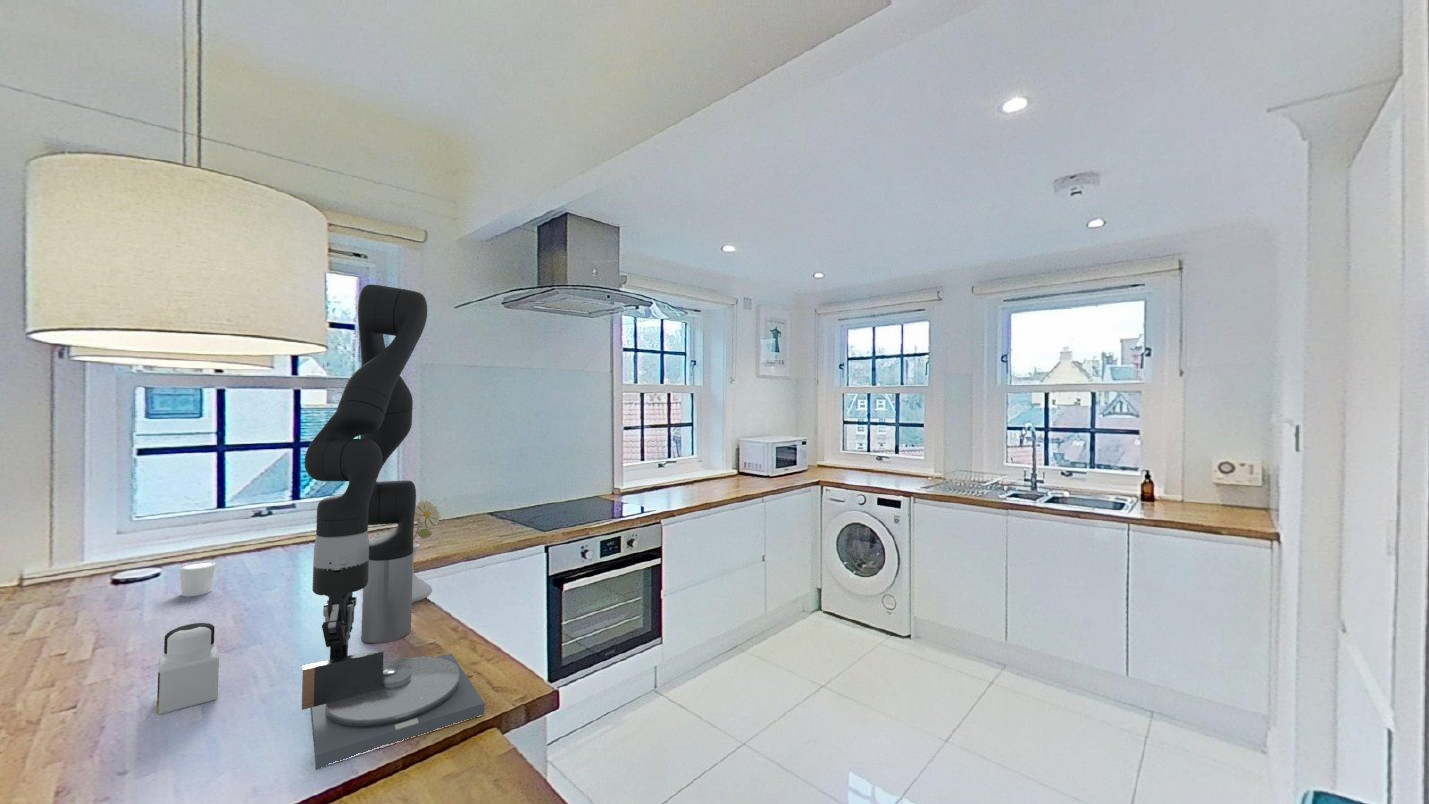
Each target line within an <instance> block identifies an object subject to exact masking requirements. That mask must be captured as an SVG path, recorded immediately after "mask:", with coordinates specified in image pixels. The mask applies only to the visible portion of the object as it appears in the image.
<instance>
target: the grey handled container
mask: <svg viewBox="0 0 1429 804" xmlns="http://www.w3.org/2000/svg"><path fill="white" fill-rule="evenodd" d="M163 644H164V646H163V647H164V648H163V655H161V656H160V657H159V658H158V659H159V660H158V668H157V669H158V670H157V671H158V672H157V701H156V714H157V715H159V716H160V715H163V714H168V713H170V712H174V711H179V710H181V709H186V708H190V707H194V706H198V705H200V704H206V703H209V702H213V701H215V700H217V699H218V698H219V677H220V676H219V673H220V671H219V670H220V669H219V667H220V656H219V649H218V644H215V625H213V624H212V623H207V622H194V623H189V624H185V625H181V626H179V627H176V628H174V629H172V630H169V631H168V632H167V633H166V634H165V635H164V643H163Z"/></svg>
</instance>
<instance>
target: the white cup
mask: <svg viewBox="0 0 1429 804" xmlns="http://www.w3.org/2000/svg"><path fill="white" fill-rule="evenodd" d="M216 566H217V563H216V562H212V561H208V562H205V561H204V562H197V563H190V564H187V565H183V566H180V568H179V580H180V589H181V590H180V591H181V596H182V597H197V596H202V595H205V594H208V593H211V592H212V591H213V586H214V580H215V572H216Z"/></svg>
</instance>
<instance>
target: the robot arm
mask: <svg viewBox="0 0 1429 804" xmlns="http://www.w3.org/2000/svg"><path fill="white" fill-rule="evenodd" d="M357 301H358V302H357V321H358V323H357V324H358V337H359V347H360V363H361V366H360V367H359V368H358V369H357V370H356V371H355V372H354V373H353V374H352V375H351V377H350V378H349V379H348V381H347V382H346V384H345V386H344V389H343V391H342V394H341V397H340V400H339V403H338V405H337V408H336V411H335V412H334V413H333V415H332V416H331V417H330V418H329V419H328V421H327V422H326V423H325V424H324V425H323V427H322V428H321V429H320V431H319V432H318V433H317V434H316V436H315V437H314V438H313V440H312V441H311V443H310V444H309V446H308V448H307V450H306V452H305V455H304V468H305V471H306V473H307V475H308V476H309V477H310V478H312V479H313V480H314V481H319V482H348V486H347V488H346V489H345V492H343V493H342V494H337V495H332V496H331V495H330V496H328V497H325V498H323V499H321V500H320V501H319V502H318V504H317V508H316V509H317V510H316V535H315V542H314V546H313V560H312V561H313V564H312V565H313V566H312V592H313V593H314V594H315V595H317V596H326V597H327V598H328V599H327V602H326V604H324V605H323V611H322V612H323V613H322V616H323V617H324V621H323V623H322V624H321V629H322V634H323V638H324V643H325V646H326V648H329V660H331V659H336V658H340V657H345V656H349V655H348V654H349V648H348V647H349V641H350V638H351V632H352V631H353V628H354V627H353V624H354V621H355V609H356V608H355V607H356V606H357V599H358V598H357V596H353V594H354V593H355V592H358V591H361V590H362V603H361V604H362V605H361V606H362V607H361V608H362V609H361V610H362V611H361V632H360V633H361V637H360V638H361V640H362V641H363V642H365V643H367V644H381V643H388V642H393V641H396V640H400V639H402V638H404V637H406V636H407V635H409V634H410V633H411V631H412V609H413V607H412V606H413V602H412V579H413V572H414V561H413V543H414V540H413V537H414V529H415V528H414V527H415V520H414V518H415V517H414V516H415V506H416V505H417V490H416V486H415V483H414V482H413V481H412V480H406V479H404V480H386V481H385V480H381V481H377V480H378V478H379V474H380V472H381V470H382V469H383V467H384V465H385V463H386V462H387V460H388V459H389V458H390V456H391V455H392V454H393V453H394V452H395V451H396V450H397V448H398V447H399V446H400V445H401V444H402V442H404V440H405V439H406V437H407V436H408V435H409V432H411V429H412V425H413V396H412V392H411V391H410V389H409V387H408V385H407V383H406V382H405V381H404V379H403V377H402V376H401V374H402V373H403V370H404V369H405V367H406V365H407V363H408V361H409V360H410V357H411V356H412V354H413V352H414V350H415V348H416V346H417V345H418V342H419V341H420V338H421V336H422V334H423V332H424V330H425V327H426V322H427V318H428V303H427V299H426V298H425V296H424V294H422V293H421V292H418V291H415V290H410V289H405V288H399V287H392V286H385V285H381V284H380V285H379V284H367V285H365V286H363V287H362V289H361V290H360V294H359V297H358V300H357ZM384 335H388V336H395V337H394V338H393V339H392V340H391V342H390V343H389V345H387V346H386V344H385V339H384ZM356 437H359V438H356ZM394 524H397V526H396V527H395V528H393V530H391V531H390V532H389V533H387V534H384V535H382V536H380V537H377V538H374V539H372V540H369V526H378V525H381V526H383V525H394Z"/></svg>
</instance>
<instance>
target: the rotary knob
mask: <svg viewBox="0 0 1429 804" xmlns="http://www.w3.org/2000/svg"><path fill="white" fill-rule="evenodd" d="M436 657H437V656H413V657H403V658H397V659H396V658H395V659H391V660H388V661H387V660H386V661H384V648H378V649H377V648H376V649H372V650H369V651H364V652H358V653H354V654H349V655H348V656H345V657H340V658H336V659H331V660H330V659H328V660H327V659H326V660H322V661H318V662H315V663H309V664H305V665H302V678H301V679H302V682H301V683H302V684H301V711H303V710H308V709H311V708H312V707H316V706H319V705H323V704H325V713H326V715H327V716H328V718H329V719H331V720H332V721H334V722H337V723H340V724H344V725H350V726H371V725H380V724H386V723H391V722H396V721H400V720H403V719H407V718H410V717H413V716H416V715H418V714H421V713H423V712H426V711H428V710H430V709H432V708H434V707H436V706H437V705H439V704H441V703H442V702H444V701H445V700H446V699H448V698H449V697H450V696H451V695H452V694H453V693H454V692H455V690H456V689H457V687H458V684H459V669H458V667H457V666H456V664H454V663H453V662H451V661H449V660H446V659H442V658H436Z"/></svg>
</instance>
